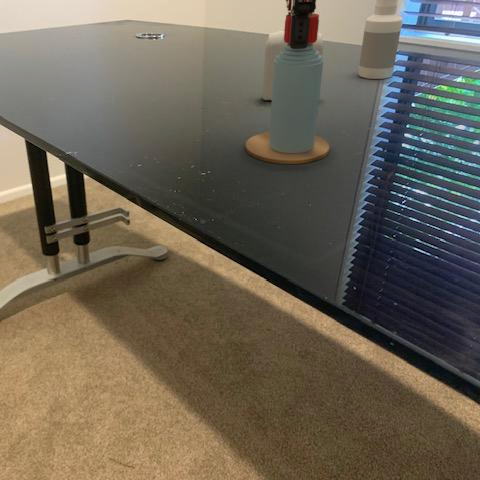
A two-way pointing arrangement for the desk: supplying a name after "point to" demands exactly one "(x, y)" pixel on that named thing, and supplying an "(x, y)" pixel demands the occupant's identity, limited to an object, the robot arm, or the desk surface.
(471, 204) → the desk surface
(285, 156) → the coaster
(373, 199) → the desk surface
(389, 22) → the beige tall canister
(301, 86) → the bottle
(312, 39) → the bottle cap
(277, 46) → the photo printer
